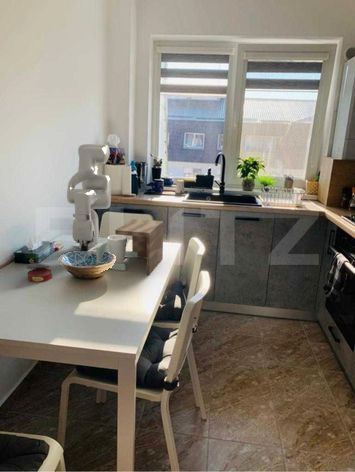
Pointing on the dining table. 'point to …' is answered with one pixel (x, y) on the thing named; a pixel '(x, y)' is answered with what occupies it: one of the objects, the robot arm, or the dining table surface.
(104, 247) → the pull out rack
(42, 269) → the canned food
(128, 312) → the dining table surface
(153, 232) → the counter shelf
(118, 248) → the foam cup
